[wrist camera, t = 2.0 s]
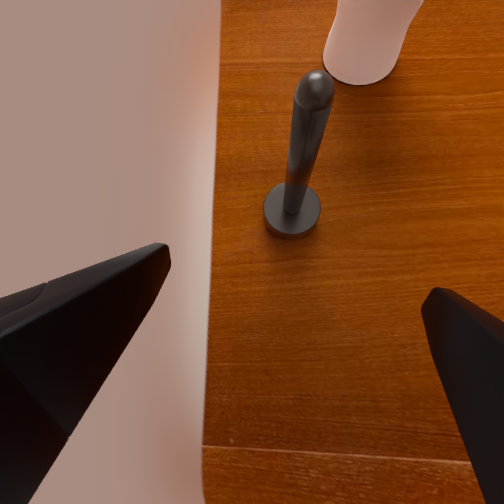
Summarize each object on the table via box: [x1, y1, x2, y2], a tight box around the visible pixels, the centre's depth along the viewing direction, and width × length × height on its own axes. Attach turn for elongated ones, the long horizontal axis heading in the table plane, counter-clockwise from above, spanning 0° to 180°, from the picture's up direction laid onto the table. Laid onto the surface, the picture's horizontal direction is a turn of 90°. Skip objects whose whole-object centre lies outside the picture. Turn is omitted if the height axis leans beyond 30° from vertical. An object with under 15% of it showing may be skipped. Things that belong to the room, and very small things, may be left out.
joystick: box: [263, 70, 335, 240], centre depth 16 cm, size 5×5×14 cm
